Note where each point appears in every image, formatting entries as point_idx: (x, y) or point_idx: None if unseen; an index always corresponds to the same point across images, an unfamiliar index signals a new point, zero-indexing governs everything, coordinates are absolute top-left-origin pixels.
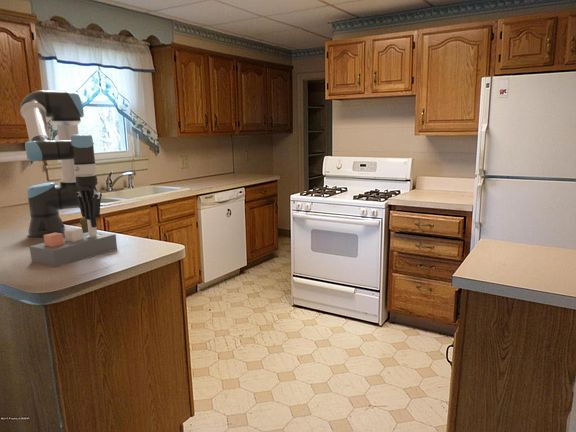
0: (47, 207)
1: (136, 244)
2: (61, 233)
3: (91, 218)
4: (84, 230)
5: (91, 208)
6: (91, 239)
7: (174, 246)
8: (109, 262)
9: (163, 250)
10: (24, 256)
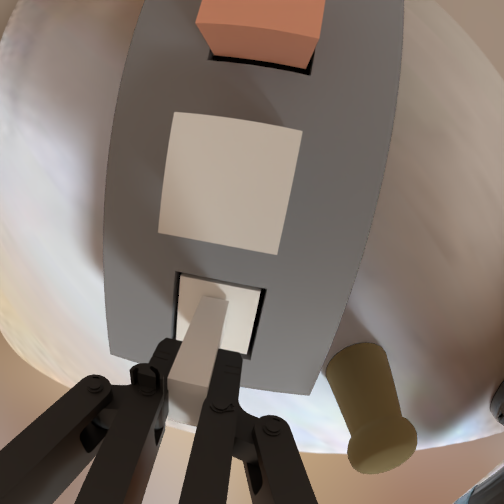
0: None
1: (127, 372)
2: (207, 20)
3: (134, 383)
4: (373, 395)
5: (93, 473)
6: (125, 218)
7: (22, 350)
8: (33, 139)
9: (10, 310)
10: (477, 115)
